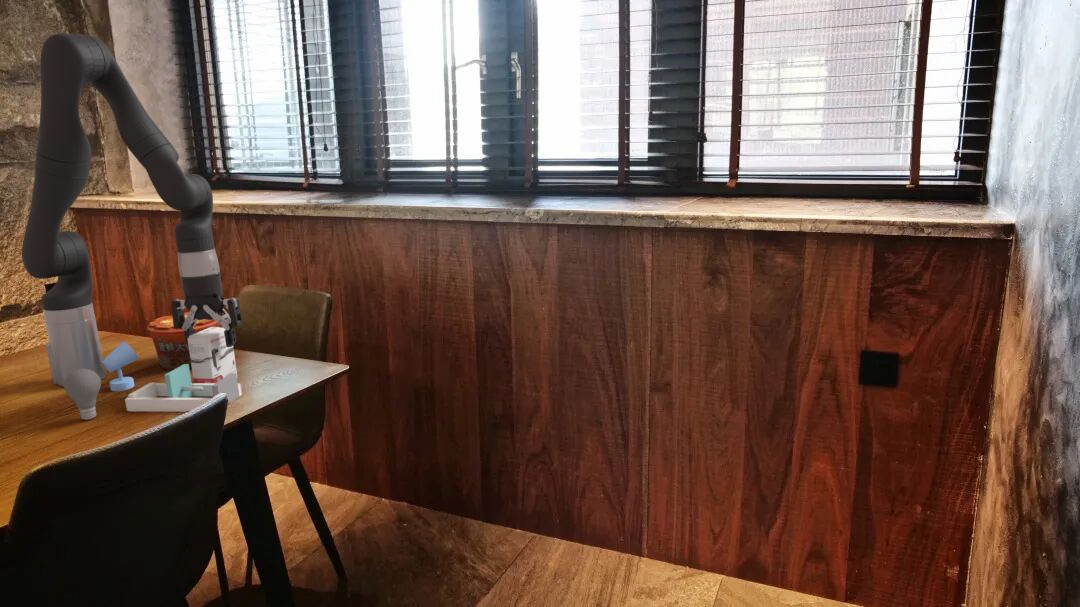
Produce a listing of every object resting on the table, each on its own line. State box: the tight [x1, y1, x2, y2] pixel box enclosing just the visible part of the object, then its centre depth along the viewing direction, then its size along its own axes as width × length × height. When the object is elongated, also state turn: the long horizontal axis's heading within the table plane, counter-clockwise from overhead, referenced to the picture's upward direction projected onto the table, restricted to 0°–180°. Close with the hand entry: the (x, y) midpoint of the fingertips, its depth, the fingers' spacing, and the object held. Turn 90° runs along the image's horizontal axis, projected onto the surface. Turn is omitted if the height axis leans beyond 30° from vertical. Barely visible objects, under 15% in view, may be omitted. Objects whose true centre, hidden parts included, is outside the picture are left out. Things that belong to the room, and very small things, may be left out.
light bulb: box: [63, 369, 102, 421], centre depth 140 cm, size 6×6×10 cm
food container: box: [146, 311, 221, 371], centre depth 173 cm, size 16×16×11 cm
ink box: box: [187, 326, 238, 383], centre depth 156 cm, size 9×5×12 cm, turn 168°
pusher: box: [164, 364, 203, 398], centre depth 146 cm, size 5×7×7 cm
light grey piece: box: [124, 373, 243, 413], centre depth 147 cm, size 19×9×5 cm, turn 84°
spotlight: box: [102, 340, 140, 392], centre depth 157 cm, size 5×10×7 cm
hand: (211, 346), depth 156 cm, fingers open, 8 cm apart
